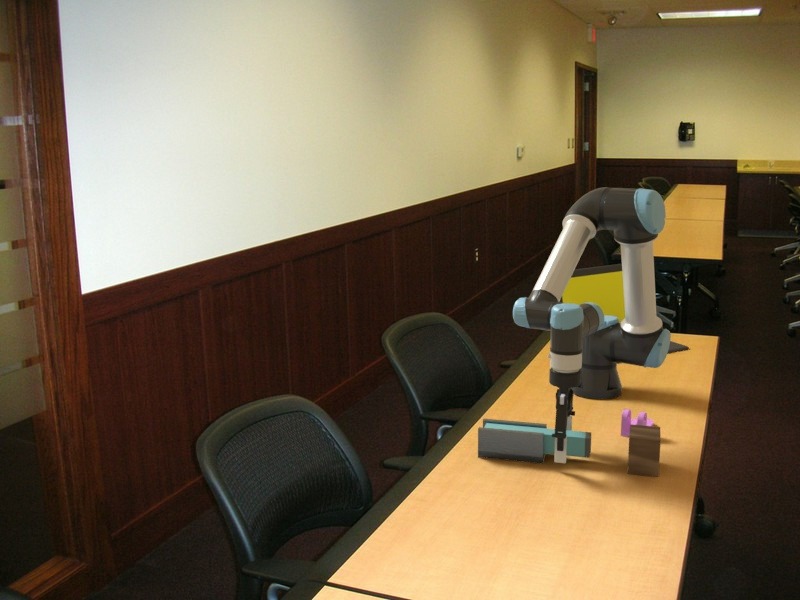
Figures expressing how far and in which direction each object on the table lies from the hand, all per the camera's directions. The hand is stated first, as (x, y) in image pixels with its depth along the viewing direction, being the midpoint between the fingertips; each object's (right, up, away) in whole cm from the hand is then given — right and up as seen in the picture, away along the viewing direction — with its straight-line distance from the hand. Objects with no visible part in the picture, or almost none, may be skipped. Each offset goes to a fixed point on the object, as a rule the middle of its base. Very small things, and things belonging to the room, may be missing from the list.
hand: (563, 451), depth 204 cm
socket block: (+18, -3, -5) cm, 19 cm away
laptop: (+40, +20, +100) cm, 110 cm away
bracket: (+24, +2, +19) cm, 31 cm away
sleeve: (-12, -2, +4) cm, 13 cm away
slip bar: (-6, 0, +2) cm, 7 cm away
